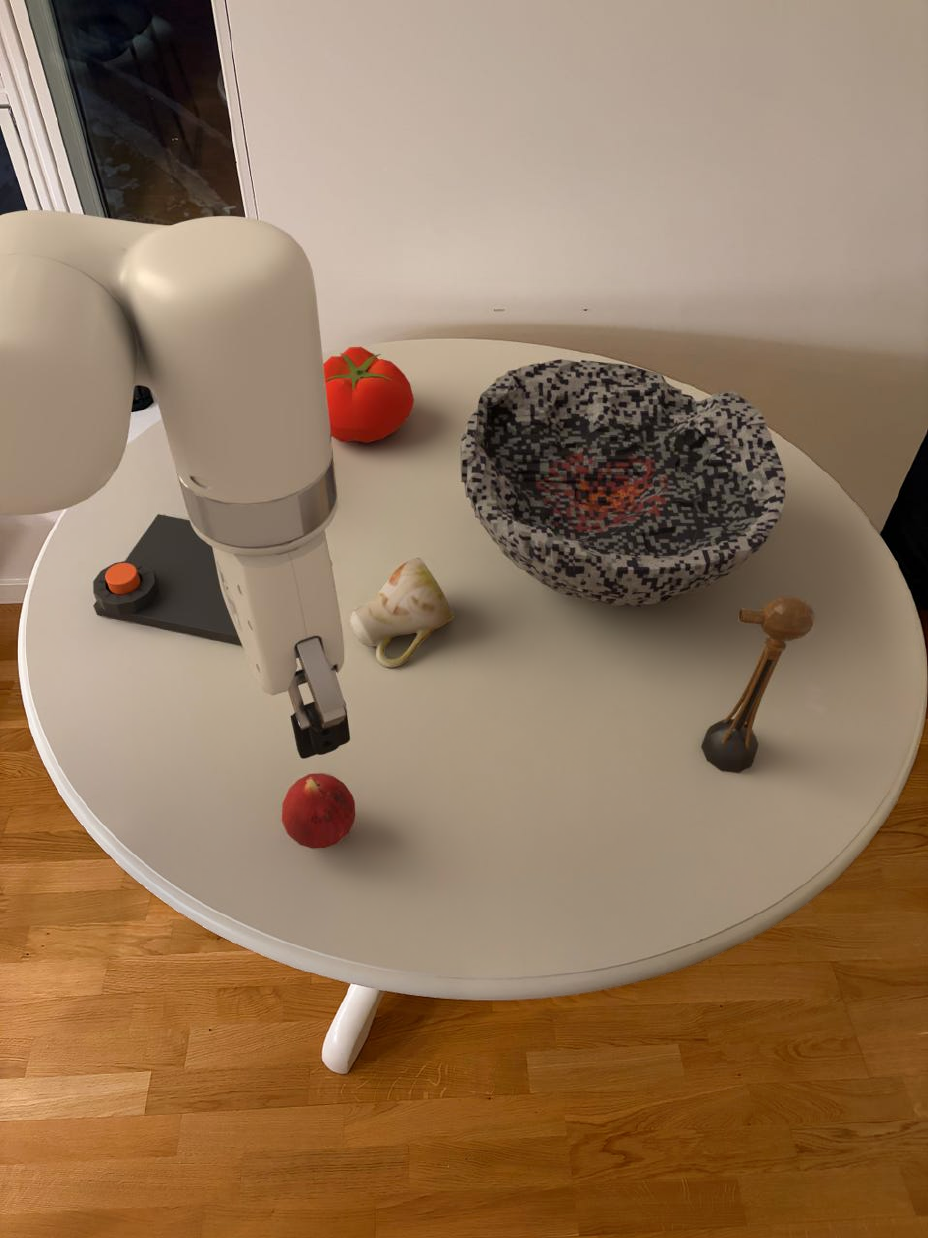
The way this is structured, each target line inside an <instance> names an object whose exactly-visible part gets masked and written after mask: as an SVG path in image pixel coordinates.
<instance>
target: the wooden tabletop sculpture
mask: <svg viewBox="0 0 928 1238" xmlns="http://www.w3.org/2000/svg"><path fill="white" fill-rule="evenodd" d="M815 620H816V616H815V613H814V610H813V608H812V606H811V605H810V604H809V603H808V602H807V601H806V600H802V599H801V598H798V597H792V596H791V597H790V596H787V597H786V596H785V597H784V596H782V597H779V598H775V599H774V600H772V601H771V602H769V603H768V604H766V605H765V606H764V608H763V609H762V610H759V609H751V608H740V609H739V611H738V623H745V624H752V625H753V624H754V625H760V628H761V629H762V631H763V632H764V634H766V635H767V636H768V637H766V638H765V642H764V647H763V649H762V652H761V654H760V656H759V658H758V661H757V663H756V665H755V668H754V670H753V672H752V674H751V676H750V678H749V681H748V682H747V685H746V687H745V689H744V691H743V692H742V694H741V696H740V698H739V699H738V702H737V703H736V705H735V706H734V707H733V709H732V710H731V712H730V713H729V714H728V715H727V716H726V717H725V718H723V719H721V720H720V721H717V722H716V723H714V724H712V725H710V726H709V727H708V728H707V730H706V733H705V734H704V737H703V740H702V743H701V746H700V748H701V751H702V752H703V755H704V757H705V759H706V762H708V763H709V764H711V765H712V766H714V767H715V768H716V769H718V770H719V771H721V772H727V773H735V774H740V773H741V772H743V771H746V770H747V769H750V768H752V766H753V764H754V762H755V759H756V756H757V752H758V750H759V741H758V738H757V736H756V734H755V732H754V730H753V726H754V723H755V720H756V716H757V713H758V711H759V707H760V704H761V701H762V698H763V697H764V694H765V691H766V689H767V687H768V685H769V682H770V681H771V678H772V676H773V673H774V671H775V670H776V667H777V665H778V663H779V660H780V658H781V656H782V654H783V652H784V651H785V650H786V648H787V643H786V642H791V641H796V640H799V639H801V638H803V637H805V636H806V635H807V634H808V633H809V632H810V631H812V628H813V626H814V624H815ZM734 716H735V717H734ZM733 717H734V718H733Z"/></svg>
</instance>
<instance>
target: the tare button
mask: <svg viewBox="0 0 928 1238" xmlns="http://www.w3.org/2000/svg"><path fill="white" fill-rule="evenodd" d="M105 578H106V581H107V584H108V586H109V589H110V590H111V591H112V592H113V593H115V594H118V595H125V594H129V593H132V592H133V591H135V590H136V589H137V588H138V587H139V585H140V578H139V575H138V572H137V569H136V567H135V566H133V565H132V564H129V563H119V564H116V565H114V566H112V567H110V568H109V569H108V570H107V572H106V575H105Z"/></svg>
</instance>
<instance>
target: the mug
mask: <svg viewBox="0 0 928 1238" xmlns="http://www.w3.org/2000/svg"><path fill="white" fill-rule="evenodd" d="M454 617H455V615H454V611H453V609H452V607H451V604H450V602H449V601H448V599H447V597H446V595H445V593H444V591H443V590H442V588H441V586H440V584H439V583H438V581H437V580H436V578H435V576H434V575H433V573H432V572H431V571H430V569H429V568H428V566H427V565H426V563H425V562H424V561H423V560H422V559H421V558H420V557H416V558H413V559H411V560H408V561H405V562H404V563H403V564H401V565H400V566H399V567H398V568H397V569H395V570H394V572H393V573H392V574H391V575H390V577H389V578H388V579H387V580H386V582H385V583H384V584H383V586H382V587H381V588H380V590H379V591H378V592H377V593H376V594H375V596H374V597H372V598H371V599H370V600H369V601H368V602H366V603H365V604H363V605H361V606H359V607H358V608H356V609H355V610H353V611H352V613H351V616H350V619H349V624H350V626H351V630H352V632H353V634H354V636H355V637H356V638H357V639H358V641H359V642H360V643H362V644H363V645H365V646H367V647H368V646H369V647H376V651H375V658H376V661H377V662H378V663H379V665H381V666H383V667H385V668H396V667H399V666H401V665H403V664H404V663H407V662H408V660H409V659H411V657H412V656H413V655H414V653H415V651H417V649H418V647H419V646H420V645H421V644H422V643H423V642H424V640H425V639H427V638H428V637H429V636H430V635H432V634H433V633H434V631H435V630H436V629H439V628H441V627H443V626H444V625H446V624H448V622H450V621H451V620H453V618H454ZM411 634H416V635H415V637H414V639H413V641H412V642H411V645H410V646H409V647H408V648H407V650H406V651H405V652H404V653H403V655H401V656H400V657H399V658H395V659H394V658H393V659H391V658H389V657H388V656H387V655H386V653H385V650H386V648H387V646H388V645H390V643H391V640H392V638H395V637H397V636H403V635H411Z"/></svg>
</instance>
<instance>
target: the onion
mask: <svg viewBox="0 0 928 1238" xmlns="http://www.w3.org/2000/svg"><path fill="white" fill-rule="evenodd" d="M281 806H282V807H281V822H282V824H283V827H284V829H285V832H286V834H287V835H288V836H289V837H290V838H291V839H292V840H293V841H294V842H296V843H297V844H298V845H300V846H303V847H305V848H309V849H311V850H313V849H314V850H316V849H317V850H318V849H327V848H330V847H332V846H334V845H337V844H338V843H340V842H341V841H342V840H343V839H345V837H347V836H348V835H349V834H350V832H351V831H352V827H353V825H354V824H355V820H356V814H357V813H356V802H355V798H354V796H353V794H352V792H351V791H350V790H349V788H348V787H347V785H346V784H345V783H344V782H343V781H342V780H340V779H338V778H337V777H336V776H334V775H332V774H328V773H322V772H318V773H317V772H316V773H309V774H307V775H305V776H303V777H301V778H299V779H297V780H296V781H295V782H294V784H292V785H291V786H290V787H289V788H288V790H287V792H286V794H285V797H284V799H283V802H282V805H281Z"/></svg>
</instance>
